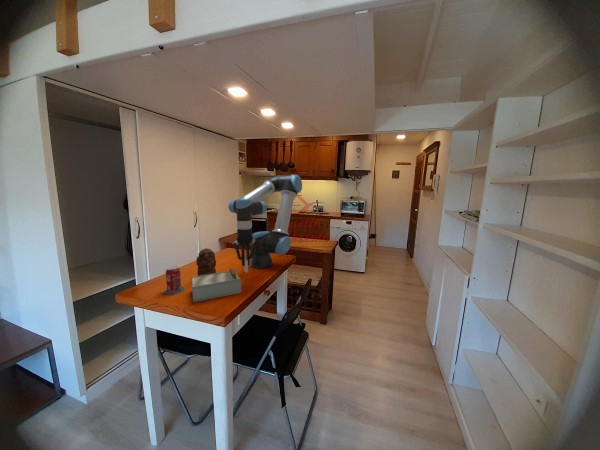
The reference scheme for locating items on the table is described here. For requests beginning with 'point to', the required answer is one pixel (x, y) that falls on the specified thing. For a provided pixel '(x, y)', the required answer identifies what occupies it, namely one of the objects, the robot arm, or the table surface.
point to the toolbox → (215, 289)
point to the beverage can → (173, 278)
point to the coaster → (174, 292)
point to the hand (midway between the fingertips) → (245, 271)
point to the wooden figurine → (206, 262)
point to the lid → (215, 278)
